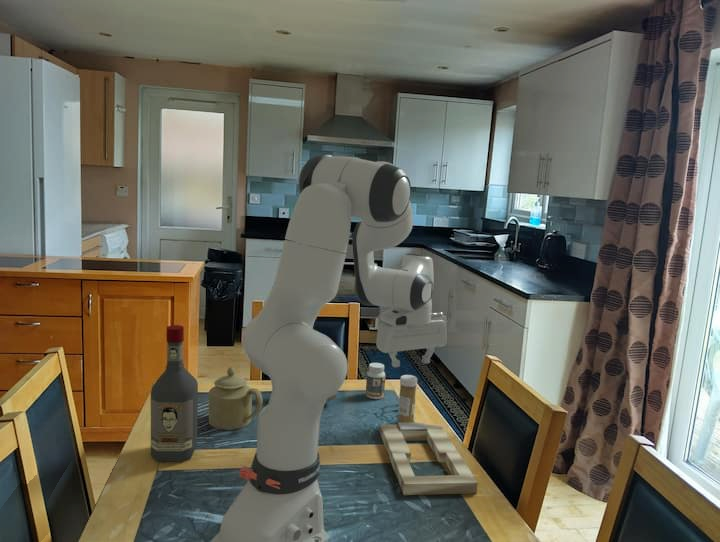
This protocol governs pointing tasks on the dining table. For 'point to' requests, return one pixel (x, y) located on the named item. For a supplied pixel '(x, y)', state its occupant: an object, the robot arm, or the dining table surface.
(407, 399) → the sprinkles bottle
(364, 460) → the dining table surface
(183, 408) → the liquor
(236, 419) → the sugar bowl
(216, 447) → the dining table surface
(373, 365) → the pill bottle
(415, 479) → the keyhole board
